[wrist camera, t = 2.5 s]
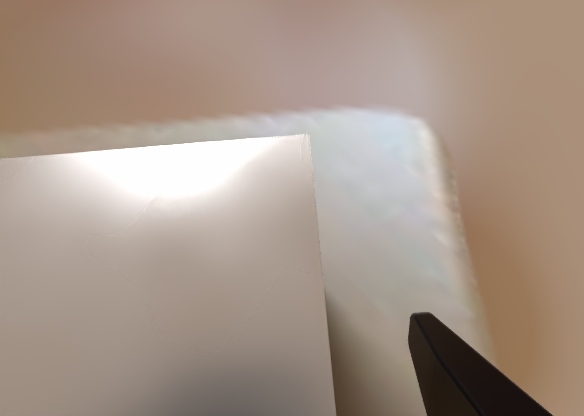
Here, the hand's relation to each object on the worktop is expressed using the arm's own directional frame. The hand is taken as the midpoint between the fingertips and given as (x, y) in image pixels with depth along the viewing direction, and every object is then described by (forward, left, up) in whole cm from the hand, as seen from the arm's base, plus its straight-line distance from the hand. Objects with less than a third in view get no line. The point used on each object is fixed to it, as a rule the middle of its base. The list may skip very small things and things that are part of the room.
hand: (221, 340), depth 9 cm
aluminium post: (0, 0, -8) cm, 8 cm away
